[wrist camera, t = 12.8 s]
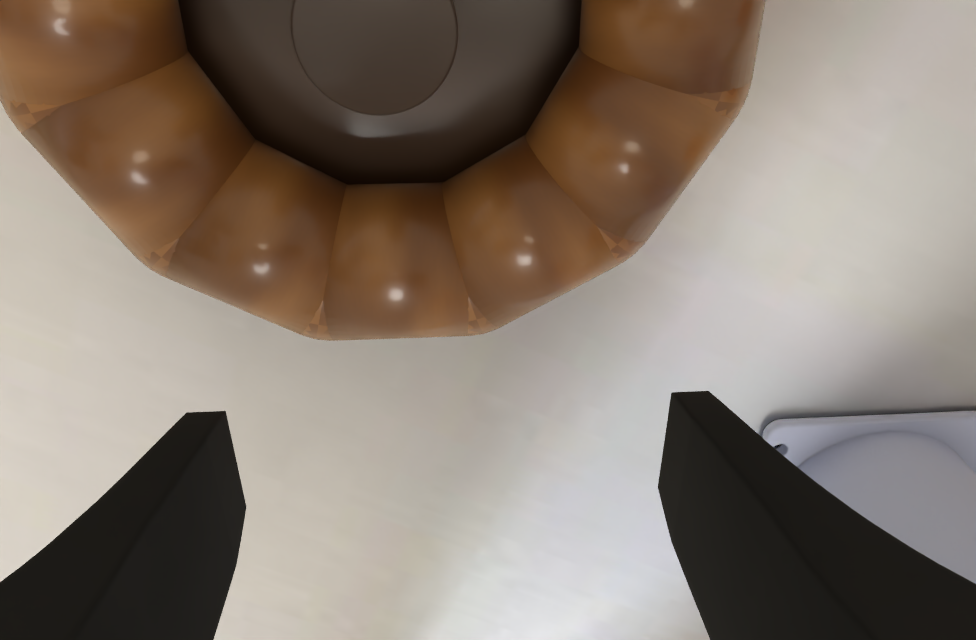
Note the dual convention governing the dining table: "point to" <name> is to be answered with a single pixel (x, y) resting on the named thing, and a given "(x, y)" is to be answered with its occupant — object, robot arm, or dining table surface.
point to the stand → (384, 77)
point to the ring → (376, 207)
